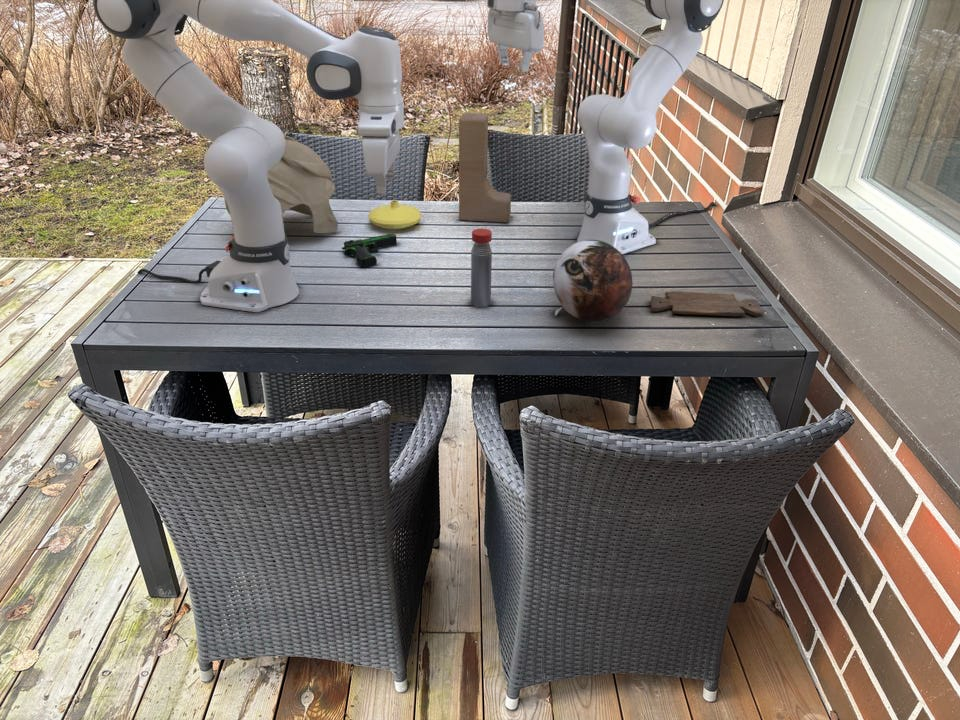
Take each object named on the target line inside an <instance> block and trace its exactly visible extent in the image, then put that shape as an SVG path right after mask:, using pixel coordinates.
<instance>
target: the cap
mask: <svg viewBox="0 0 960 720" xmlns="http://www.w3.org/2000/svg"><path fill="white" fill-rule="evenodd" d="M492 236H493V232H492V230H490V229H488V228H475V229H473V230H472V231H471V241H472V242H473V243H475V242H476V243H488V242H489V243H491V242H492V240H493V238H492Z"/></svg>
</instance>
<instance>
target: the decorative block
mask: <svg viewBox="0 0 960 720" xmlns="http://www.w3.org/2000/svg"><path fill="white" fill-rule="evenodd" d="M488 144H489V115H488V114H487V113H473V112H463V113H462V114H461V116H460V117H459V119H458V218H459V220H461V221H474V222H491V223H504V224H505V223H506V224H507V223H508V222H509V220H510V217H511V212H512V211H511V210H512V209H511V208H512V194H511V193H508V192H503V191H498V190H496V189H495V188H494V187H492V186H491V184H490V180H489V178H488V149H489V148H488V146H489V145H488Z"/></svg>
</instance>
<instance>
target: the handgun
mask: <svg viewBox="0 0 960 720" xmlns="http://www.w3.org/2000/svg"><path fill="white" fill-rule="evenodd" d="M397 244H398V243H397V234H396V233H387V234H382V235H378V236H373V237H368V238H363V239H362V238H359V239H356V240H355V239H349V240H346V241H344V242H343V246H342V247H341V250H343V255H344V256H348V257H354V258H355V259H356V263H357V265H358V266H359V267H363V268H364V267H365V268H366V267H371V266H376V265H377V262H378V258H377V257H376V256H375V255H373V254H376V253H378V252H379V249H382V248H386V247H392V246H397Z"/></svg>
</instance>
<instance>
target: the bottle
mask: <svg viewBox="0 0 960 720" xmlns="http://www.w3.org/2000/svg"><path fill="white" fill-rule="evenodd" d="M492 255H493V251H492V247H491V243H490V242H488V243H476V242H473V245H472V248H471V251H470V305H471V306H472V307H474V308H479V309H480V308H481V309H483V308H488V307H489V306H491V304H492V303H491V302H492V268H493V267H492V263H493V260H492V259H493V256H492Z"/></svg>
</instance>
